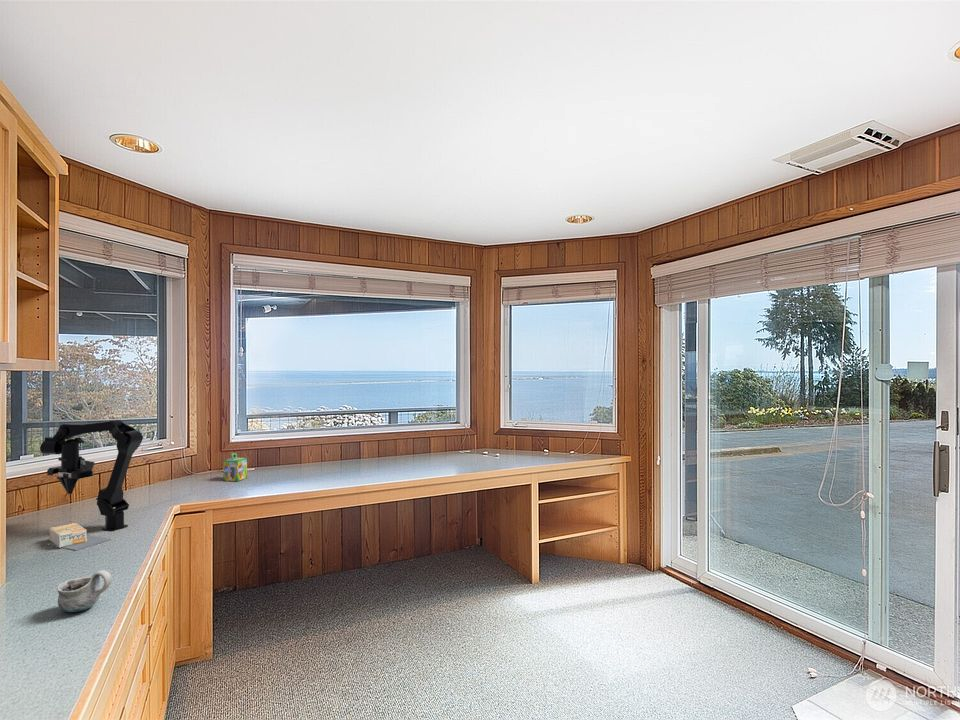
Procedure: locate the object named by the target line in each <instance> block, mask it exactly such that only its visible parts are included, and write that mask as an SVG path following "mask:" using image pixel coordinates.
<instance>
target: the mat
mask: <svg viewBox="0 0 960 720" xmlns="http://www.w3.org/2000/svg"><path fill="white" fill-rule="evenodd" d="M86 536H87V542H84V543H79V544H74V545H70V546H65V547H62V549H65V548H67V550H71V551H79V550H83V549H87V548H89V547H94V546H96V545H99V544H102V543H106V542H108V541H111V540H112V539H111V538H107V537H101V536H96V535H91V534H86ZM48 544H49V545H48V546H51V545H53V547H56V546H57V545H55V544H54V543H53V542H50V543H48ZM56 548H59V547H58V546H57V547H56Z"/></svg>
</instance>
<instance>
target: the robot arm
mask: <svg viewBox="0 0 960 720" xmlns="http://www.w3.org/2000/svg"><path fill="white" fill-rule="evenodd" d="M100 432H109V433H110V434H111V437H112V439H114V440H115V441H116V448H117V449H116V450H117V456H116V458H115V462H114V465H113V468H112V470H111V471H112V472H111V474H110V478H109V480H108V484H107V486H106V487H105V488H101V489H99V491H98V494H97V498H96V499H95V501H96V505H97V507H98V509H99V512H100V516H104V518H105V521H104V523H105V525H104V526H103V527H101V530H105V531H112V532H113V531H116V530H120V529H123V528H126V527H129V525H128V524H125V512H124V511H126V510H128V509H129V507H130V504H129V503H128V502H127V501H126V500H125V499H124V490H123V484H124V482H125V479H126V476H127V473H128V470H129V467H130V464H131V460H132V457H133V454H134V453H135V452H136V451H137V450H138V449H139V448H140V446H141V444H142V442H143V439H144V436H143V434H142V433H141V431H139V430H137V429H135V428H134V427H133V426H130V425H129V424H126V423H124V422H123V421H122V420H120V419H113V420H108V421H102V422H101V421H100V422H99V421H98V422H93V423H92V422H91V423H85V422H70V423H63V424H60V425H59V427H58V430H57V431H56V433H55V434H54V435H53V436H45V437H44V440H43V441H42V442H41V444H40V447H39V450H40V453H42V454H43V455H60V457H58V461H60V465H59V466H58V465H57V466H53V467H49V468H48V469H47V470H46V475H47V476H54V475H56V474H58V476H56V479H58V481H59V482H60V484H61V485H62V487H63V488H64V490H65V491H66V493H67V495H71V494H73V492H74V489H75V487H76V484H77V482H78V481H79V480H81V479H85V478H90V477H93V476H94V470H93V469H94V466H95V461H89V460H86V459H85V457H84V458H83V457H82V455H80V444H83V443H84V444H85V440H84V439H82V438H81V437H80V436H83V435H84V436H85V435H86V434H90V433H100Z"/></svg>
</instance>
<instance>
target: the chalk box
mask: <svg viewBox="0 0 960 720" xmlns="http://www.w3.org/2000/svg"><path fill="white" fill-rule="evenodd" d="M234 455H235V457H234ZM230 456H231V457H230V458H226V459H223V460H222V465H223V466H222V475H223V477H222V479H223V480H222V481H223V482H239V481H243V480H246V479H247V478H248V458H247V457H238V454H237V452H232V453H230Z"/></svg>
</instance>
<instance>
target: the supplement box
mask: <svg viewBox="0 0 960 720" xmlns="http://www.w3.org/2000/svg"><path fill="white" fill-rule="evenodd" d="M86 535H87V529H86V528H84V527H83V526H81V525H80V524H78V522H74V523H73V522H72V523H69V524H64V525H59V526H54V527H53V526H52V527H49V541H50V542H51V543H54V544H55V545H57V546H58V547H57V548H61V547H65V546H70V545H74V544H79V543H84V542H87V536H86Z"/></svg>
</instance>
